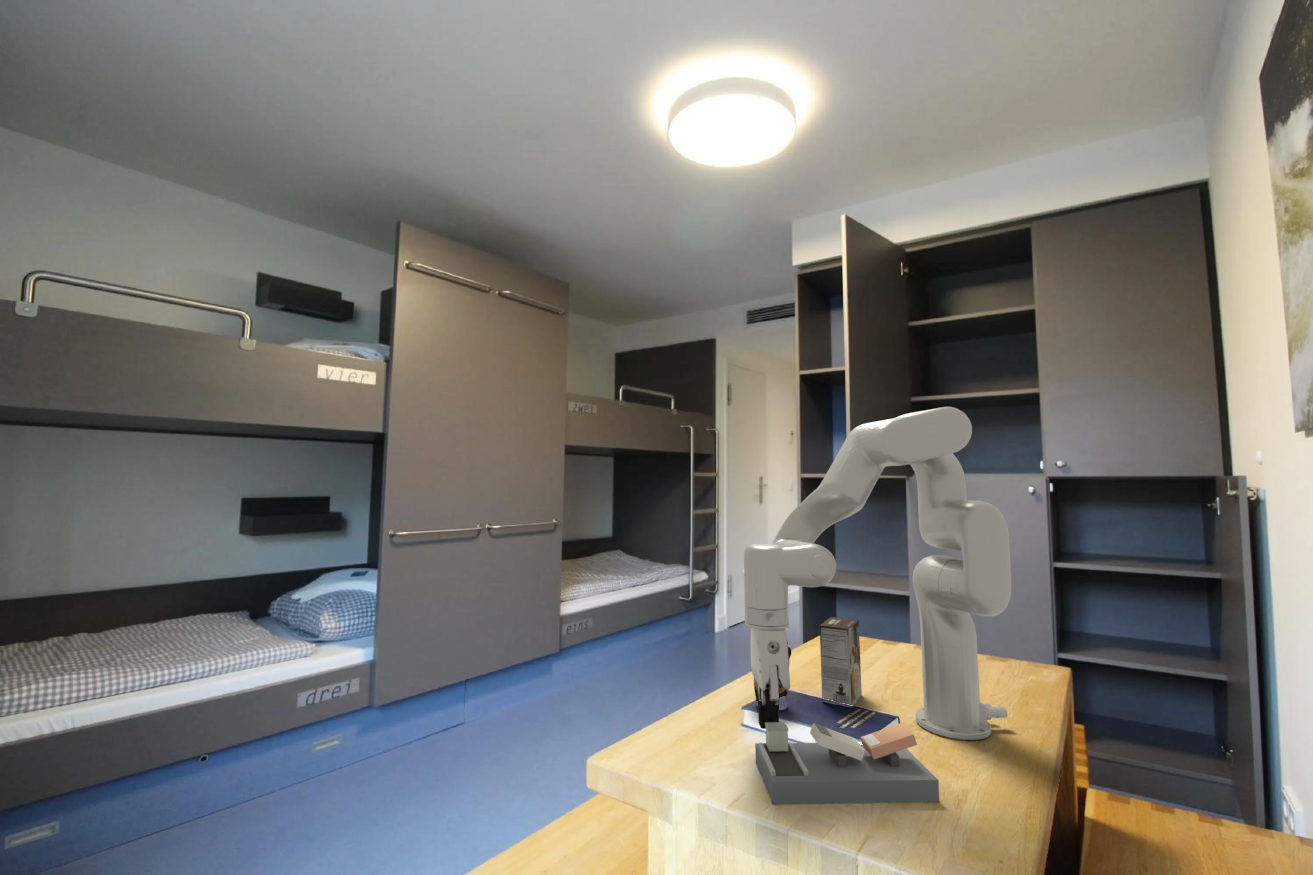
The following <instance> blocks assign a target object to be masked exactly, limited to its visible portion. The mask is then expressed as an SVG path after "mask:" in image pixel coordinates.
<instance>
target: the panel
mask: <svg viewBox="0 0 1313 875" xmlns="http://www.w3.org/2000/svg"><path fill="white" fill-rule="evenodd" d="M754 745H755V748H754V749H755V764H756V767H757V769H758V773H759V774H760V776H761V779H762V782H763V784H764V786H765V789H766V791H767V794H768V797H769V799H770V802H771V805H806V804H807V805H811V804H816V805H817V804H818V805H822V804H887V803H888V804H889V803H894V804H898V803H903V804H904V803H940V788H939V784H940V783H939V779H938V778H937V777H936V776H935V775H934V774H933V773H932V772H931V771H930V770H929V769H928V768H927V767H926V766H925V765H924V764H923V763H922V762H921V761H920V760H919V758H917V757H916V756H915V755H914V754H913V753H912V752H911V751H910V750H909V748H906V749H904V750H901V751H898V752H895V753H892V754H889V755H886V756H883V757H880V758H877V759H873V758H872V757H871V755H870V754H869V753H868V752H867V751H866V750H865V748H864V747H863V745H861V746H862V747H863V749H864V750H865V752H864V755H863V758H862V761H861V760H858V759H856V758H853V757H850V756H847V755H845V754H842V753H839V752H837V751H834V750H831V749H828V748H826V747H823V746H820V745H818V744H817V743H816V742H792V741H791V742H789V741H788V751H769V749H768V747H767V745H766V742H765V743H764V742H757V743H755V744H754Z"/></svg>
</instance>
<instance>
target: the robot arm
mask: <svg viewBox="0 0 1313 875" xmlns="http://www.w3.org/2000/svg"><path fill="white" fill-rule="evenodd" d="M972 434H973V426H972V422H971V420H970V418H969V417H968V416H967V414H966V413H965V412H964V411H962V410H960V409H959V408H956V407H953V406H943V407H937V408H932V409H926V410H919V411H914V412H909V413H904V414H902V415H898V416H897V417H893V418H889V419H883V420H878V421H872V422H871V421H870V422H866V423H863V424H860V425H858V426H856V427H854V428H853V429H852V430H850V432H849V434H848V435H847V437H846V438H845V441H844V442H843V443H842V445H841V447H840V448H839V451H837V452H838V453H837V455H836V456H835V458H834V460H833V461H832V463H831V465H830V466H829V469H828V470H827V471H826V474H825V476H824V477H823V479H822V480H821V482H820V483H819V485H818V487H816V489H814V490H813V491H811V493H810V494H808V496H807V497H806V498H805V499H803V501H802V502H800V504H798V505H797V506H796V507H795V509H793V510H792V512H791V513H790V514H789V515H788V516H787V517H786V519H785V520H784V522H783V524H782V525H781V527H780V529H779V530H778V532H777V534H776V536H775V537H774V539H773V541H772V543H751V544H749V545H747V546H746V547H745V549H744V550H743V551H744V552H743V571H744V572H743V574H744V575H743V580H744V584H743V585H744V624H745V626H747V627H749V628H750V666H751V667H750V668H751V672H752V676H753V679H754V678H755V680H756V682H757V683H758V697H759V700H761V701H758V707H757V708H758V709H757V711H758V712H757V713H758V714H757V715H758V718H757V719H758V725H759V726H760V729H763V730H766V726H765V722H780V711H779V683H780V684H781V686H782V687H783V688H784V689H785V690H786V691H787V692H789V690H790V688H791V678H790V659H788V647H789V646H788V645H787V642H788V639H787V633H786V629H787V628H789V626H790V612H789V610H790V609H789V606H790V605H789V586H793V587H804V588H805V587H806V588H818V587H823V586H825V585H827V584H828V583H829V582H831V581H832V580H833V578H834V577H835V575H836V572H837V561H836V559H835V557H834V555H833V553H832V552H831V551H830V550H829V549H827V548H826V547H824V546H823V545H820V544H818V543H817V544H816V543H815V542H816V540H817V539H818V538H819V536H821V534H823V532H825V530H827V529H828V528H830V527H831V526H832V525H834V524H836V523H838V522H840V521H842V520H845V519H847V518H849V517H852V516H853V515H854V514H856V513H858V512H859V511H862V509H863V508H864V506H865V504H866V502H867V501H868V498H869V497H870V495H871V493H872V491H873V489H874V487H875V486H876V483H877V481H878V480H879V478H880V477H881V475H882V472H883V471H884V470H885V468H886V467H897V466H900V467H901V466H906V465H910V466H911V468H912V471H913V472H914V474H915V478H916V483H917V485H916V487H917V508H918V528H919V533H920V537H921V538H922V540H923V542H924V543H926V544H927V545H929V546H931V547H934V548H937V549H944V550H948V551H949V550H950V551H957V552H961V555H962V557H956V556H950V555H942V554H941V555H940V554H939V555H938V554H936V555H930V556H926V557H924V558H922V559H921V560H920V561H918V562H917V564H915V567H914V569H913V572H912V586H913V591H914V595H915V598H916V603H917V608H918V615H919V624H920V625H919V628H920V644H921V645H920V647H921V648H920V649H921V668H922V670H921V671H922V672H921V673H922V688H923V689H922V690H923V691H922V692H923V708H920V709H918V710H917V711H916V712H915V721H916V722H917V724H919V726H920V727H921V728H923V729H925V730H927V731H929V732H931V733H934V734H935V735H939V736H941V737H942V736H943V737H946V738H950V739H956V740H963V741H964V740H966V741H974V740H975V741H977V740H985V739H986V738H989V736H991V734H992V726H991V724H990V722H989V721H990V720H991V719H992V718H994V719H1007V718H1008V711H1007V709H1006V707H1005V706H992V705H991V703H989V702H988V703H984V702H982V701H981V693H980V692H981V691H980V680H979V679H980V676H979V658H978V637H977V631H976V630H977V629H976V626H975V623H974V621H973V618H972V616H971V614H973V615H976V616H980V617H996V616H998V615H1000V614H1002V613H1003V612H1005V610H1006V609H1007V607H1008V605H1009V603H1010V601H1011V600H1010V599H1011V597H1012V596H1011V595H1012V570H1011V569H1012V567H1011V550H1010V548H1011V547H1010V546H1011V545H1010V535H1009V527H1008V524H1007V520H1006V519H1005V517H1004V515H1003V514H1002V512H1001V511H1000V509H998V507H996V506H994V505H993V504H991V503H989V502H987V501H983V500H973V499H972V500H970V499H969V500H968V494H967V485H966V478H965V472H964V469H963V467H962V465H961V462H960V461H959V459H958V458H957V457H956V456H955V454H954V453H957V452H959V451H961V450H962V449H964V448H965V447H966V446H967V445H968V444H969V442H970V440H971V437H972ZM787 646H788V647H787Z"/></svg>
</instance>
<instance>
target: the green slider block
mask: <svg viewBox="0 0 1313 875" xmlns="http://www.w3.org/2000/svg"><path fill="white" fill-rule="evenodd" d="M765 726H766V729H765V743H766V745H767V747H768V749H769V751H788V742H789V727H788V726H787V724H786V723H785V722H784V721H783V722H782V721H781V722H780V721H779V722H765Z"/></svg>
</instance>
